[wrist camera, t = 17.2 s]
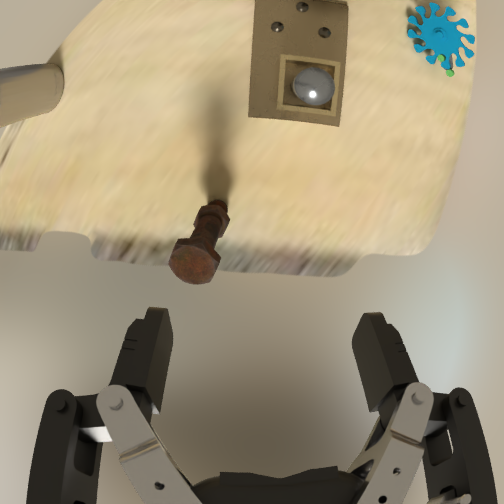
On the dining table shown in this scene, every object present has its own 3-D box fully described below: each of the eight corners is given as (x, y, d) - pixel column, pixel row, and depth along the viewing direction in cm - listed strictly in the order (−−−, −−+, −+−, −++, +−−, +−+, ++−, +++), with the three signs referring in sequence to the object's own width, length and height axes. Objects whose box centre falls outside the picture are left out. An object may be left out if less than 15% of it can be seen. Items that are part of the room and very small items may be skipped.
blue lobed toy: (398, 1, 22) (467, 4, 15) (410, 6, 24) (471, 10, 17) (413, 72, 28) (479, 82, 22) (423, 69, 31) (481, 79, 24)
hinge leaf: (248, 116, 35) (244, 120, 30) (256, -4, 25) (252, -17, 21) (337, 126, 34) (346, 131, 30) (347, 7, 25) (357, -4, 20)
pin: (289, 97, 32) (292, 101, 22) (292, 71, 30) (296, 64, 20) (317, 101, 32) (332, 108, 22) (320, 76, 30) (337, 71, 20)
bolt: (193, 202, 42) (158, 256, 30) (219, 184, 41) (191, 234, 28) (216, 231, 45) (192, 293, 32) (242, 215, 43) (227, 275, 30)
